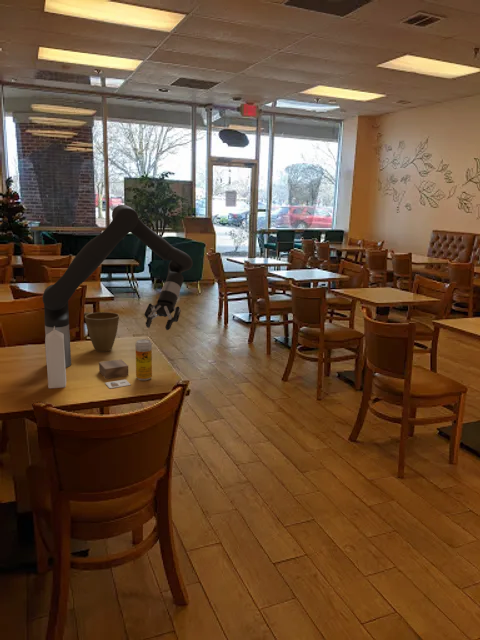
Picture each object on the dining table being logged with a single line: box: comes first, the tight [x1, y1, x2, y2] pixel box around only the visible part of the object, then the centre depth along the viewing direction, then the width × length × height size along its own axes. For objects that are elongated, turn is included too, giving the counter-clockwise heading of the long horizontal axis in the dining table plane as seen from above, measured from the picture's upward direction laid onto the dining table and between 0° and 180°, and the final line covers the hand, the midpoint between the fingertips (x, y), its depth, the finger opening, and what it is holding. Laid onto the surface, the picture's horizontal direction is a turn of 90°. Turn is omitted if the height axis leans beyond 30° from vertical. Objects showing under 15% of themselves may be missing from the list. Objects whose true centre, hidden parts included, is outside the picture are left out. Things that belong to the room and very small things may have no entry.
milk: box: [44, 326, 67, 389], centre depth 184 cm, size 6×6×22 cm
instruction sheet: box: [104, 378, 131, 390], centre depth 189 cm, size 8×6×1 cm
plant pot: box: [84, 311, 120, 353], centre depth 228 cm, size 15×15×16 cm
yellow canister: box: [135, 338, 153, 381], centre depth 195 cm, size 6×6×15 cm
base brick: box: [98, 358, 129, 380], centre depth 200 cm, size 9×9×4 cm
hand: (157, 328), depth 203 cm, fingers open, 8 cm apart
